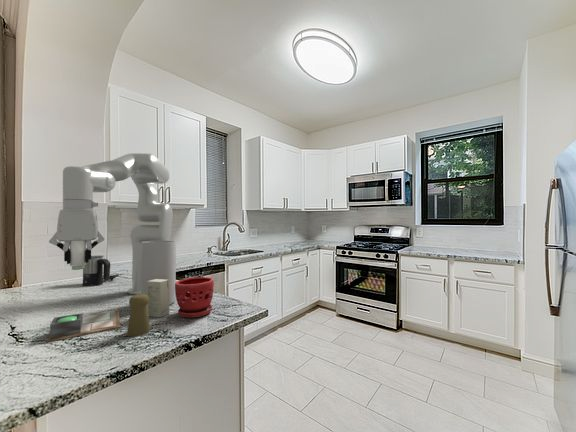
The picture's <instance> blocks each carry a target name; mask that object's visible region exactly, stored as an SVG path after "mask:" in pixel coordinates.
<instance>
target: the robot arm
mask: <svg viewBox="0 0 576 432" xmlns="http://www.w3.org/2000/svg"><path fill="white" fill-rule="evenodd" d="M129 178H131V179H132V182H133V183H134V184H135V187H136V189H137V192H138V198H137V199H138V202H137V208H136V209H137V210H136V218H137V220H138V221H139V222H142V223H158V224H138V225H136V226H134V227H132V228H131V230H130V234H129V235H130V243H131V249H132V250H131V251H132V258H131V260H132V263H131V266H132V267H131V268H132V270H131V272H132V273H131V288H129V289H128V290H127V293H128V294H129V295H137V294H141V253H142V242H145V241H171V238H172V227H173V215H174V214H173V212H174V211H173V209H172V206H171V205H170V204H169V203H167V202H166V203H164V202H159V193H158V191H157V189H156V188H155V187H154V186H153V185H155V184H158V185H161V184H163V185H164V184H166V183H168V182H169V180H170V172H169V170H168V168H167V166H166V165H165V164H164V163H163V162H162V161H161V160H160V159H159V158H158V157H157V156H155V155H154V154H151V153H137V152H136V153H127V154H124V155H122V156H121V155H120V156H119V157H117V158H115V159H112V160H106V161H103V162H97V163H93V164H88V165H84V166H66V167H64V168H63V169H62V209H60V210H59V213H58V217H57V224H56V225H57V226H56V232H55V234H54V235H53V236H52V237H51V238H50V239H49V241H48V243H49V244H51V245H53V246H56V247H57V248H59V249H60V250H62V251H63V253H64V255H63V256H64V257H63V258H64V261H63V262H66V265H70V241H72V240H73V238H82V240H83V241H86V251H85V262H86V263H88V262H89V259H91V256H92V249H93V248H95V247H96V246H97V245H99V244H100V243H102V242H104V241H105V237H104V236H103V235H102V234H101V233H100V231H99V226H98V225H99V224H98V217H97V216H98V215H97V211H96V210H95V209H94V208H96V207H97V208H98V207H99V203H98V202H95V201H94V199H93V198H94V196H93V195H94V194H93V193H109V192H112V191H113V189H114V188H115V187H116V182H120V181H125V180H126V179H129ZM93 209H94V210H93ZM92 241H93V242H92ZM62 242H64V243H62Z"/></svg>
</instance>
